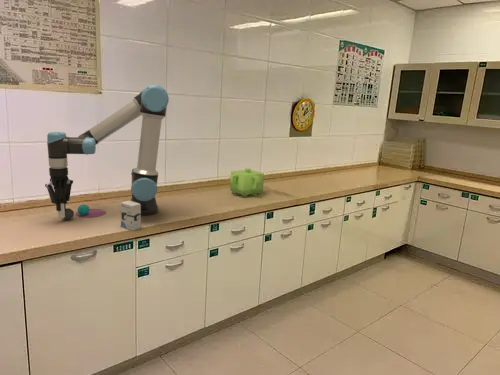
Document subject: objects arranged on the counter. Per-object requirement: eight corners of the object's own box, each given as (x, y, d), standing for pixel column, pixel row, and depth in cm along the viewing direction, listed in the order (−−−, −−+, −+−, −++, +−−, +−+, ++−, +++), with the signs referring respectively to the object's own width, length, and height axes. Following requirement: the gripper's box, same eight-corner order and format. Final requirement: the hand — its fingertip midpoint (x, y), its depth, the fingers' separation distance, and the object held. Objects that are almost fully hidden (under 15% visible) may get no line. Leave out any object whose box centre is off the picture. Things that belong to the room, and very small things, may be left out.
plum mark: (111, 212, 194) (111, 212, 194) (89, 219, 182) (89, 218, 182) (92, 207, 200) (92, 207, 200) (69, 213, 188) (69, 213, 187)
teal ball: (84, 218, 184) (93, 213, 188) (81, 208, 182) (90, 203, 186) (76, 216, 186) (85, 211, 191) (73, 206, 184) (82, 201, 188)
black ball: (64, 218, 174) (73, 222, 179) (69, 207, 176) (78, 211, 181) (56, 217, 176) (65, 220, 181) (61, 205, 178) (69, 209, 183)
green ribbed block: (250, 188, 264) (252, 164, 260) (271, 196, 247) (273, 170, 243) (220, 192, 249) (221, 166, 245) (240, 200, 232) (242, 173, 228)
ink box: (120, 226, 175) (119, 202, 172) (128, 224, 179) (128, 200, 176) (132, 231, 170) (132, 205, 168) (141, 228, 174) (141, 203, 172)
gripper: (65, 164, 177) (68, 212, 183) (39, 167, 166) (43, 219, 171) (76, 166, 174) (79, 215, 179) (50, 170, 163) (54, 222, 168)
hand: (61, 217), depth 175 cm, fingers closed
